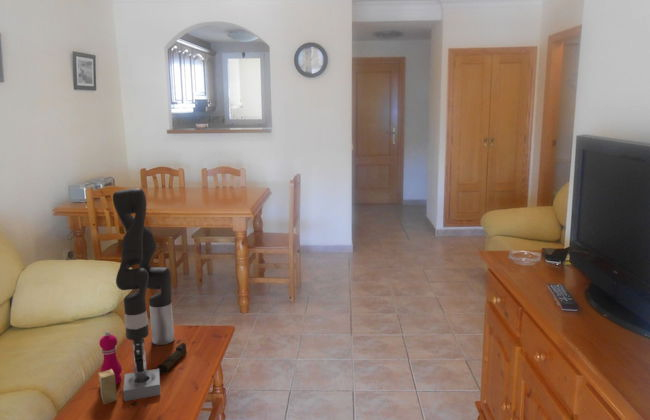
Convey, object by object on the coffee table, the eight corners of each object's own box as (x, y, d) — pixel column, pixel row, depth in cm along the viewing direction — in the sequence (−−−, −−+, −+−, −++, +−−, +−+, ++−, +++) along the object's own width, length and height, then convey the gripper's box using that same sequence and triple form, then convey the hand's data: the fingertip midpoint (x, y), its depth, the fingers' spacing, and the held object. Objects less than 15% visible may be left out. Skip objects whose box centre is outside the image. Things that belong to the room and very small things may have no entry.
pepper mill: (127, 378, 190) (122, 328, 186) (113, 388, 183) (108, 337, 179) (111, 375, 192) (106, 326, 188) (97, 385, 185) (91, 334, 181)
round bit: (135, 374, 182) (133, 349, 180) (147, 373, 183) (145, 347, 182) (135, 380, 178) (132, 354, 177) (147, 378, 180) (144, 352, 178)
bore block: (125, 384, 186) (124, 374, 185) (159, 378, 189) (159, 368, 189) (124, 401, 174) (123, 390, 174) (160, 394, 178) (159, 384, 177)
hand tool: (167, 374, 192) (166, 363, 191) (157, 373, 193) (157, 362, 192) (192, 352, 210) (191, 341, 209) (183, 351, 211) (182, 340, 210)
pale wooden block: (101, 398, 176) (98, 372, 174) (114, 394, 179) (112, 368, 177) (103, 404, 173) (101, 378, 171) (117, 400, 175) (114, 374, 173)
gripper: (126, 317, 182) (130, 361, 186) (124, 333, 169) (128, 380, 173) (148, 314, 185) (151, 357, 188) (147, 330, 172) (151, 376, 175)
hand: (140, 368), depth 180 cm, fingers closed on round bit, 4 cm apart
